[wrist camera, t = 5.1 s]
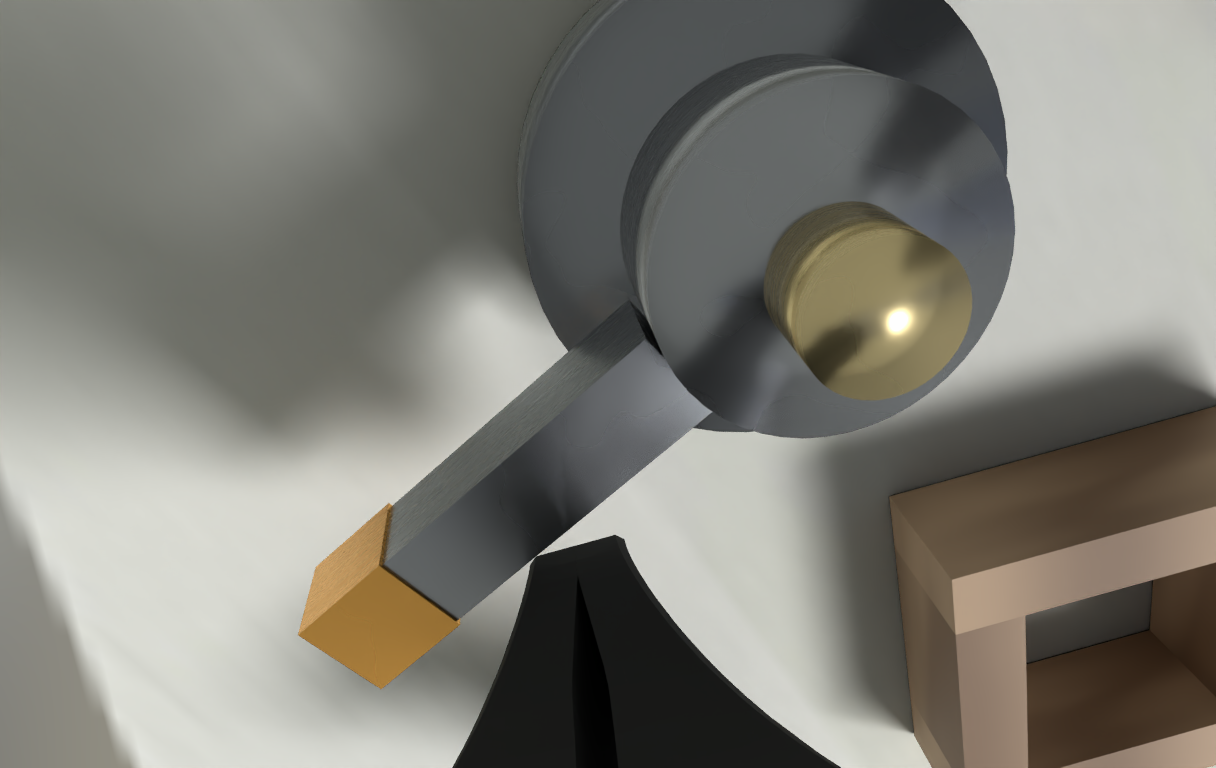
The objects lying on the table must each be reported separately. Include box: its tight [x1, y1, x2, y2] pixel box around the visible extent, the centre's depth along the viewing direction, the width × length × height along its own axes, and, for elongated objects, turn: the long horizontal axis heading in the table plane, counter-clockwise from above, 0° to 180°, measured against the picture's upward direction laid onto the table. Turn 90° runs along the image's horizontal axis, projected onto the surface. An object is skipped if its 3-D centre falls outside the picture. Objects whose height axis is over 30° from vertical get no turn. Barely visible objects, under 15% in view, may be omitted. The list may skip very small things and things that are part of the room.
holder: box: [889, 406, 1216, 768], centre depth 18 cm, size 7×7×3 cm
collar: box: [298, 53, 1015, 689], centre depth 12 cm, size 4×11×2 cm, turn 132°
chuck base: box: [517, 0, 1007, 432], centre depth 12 cm, size 7×7×6 cm
